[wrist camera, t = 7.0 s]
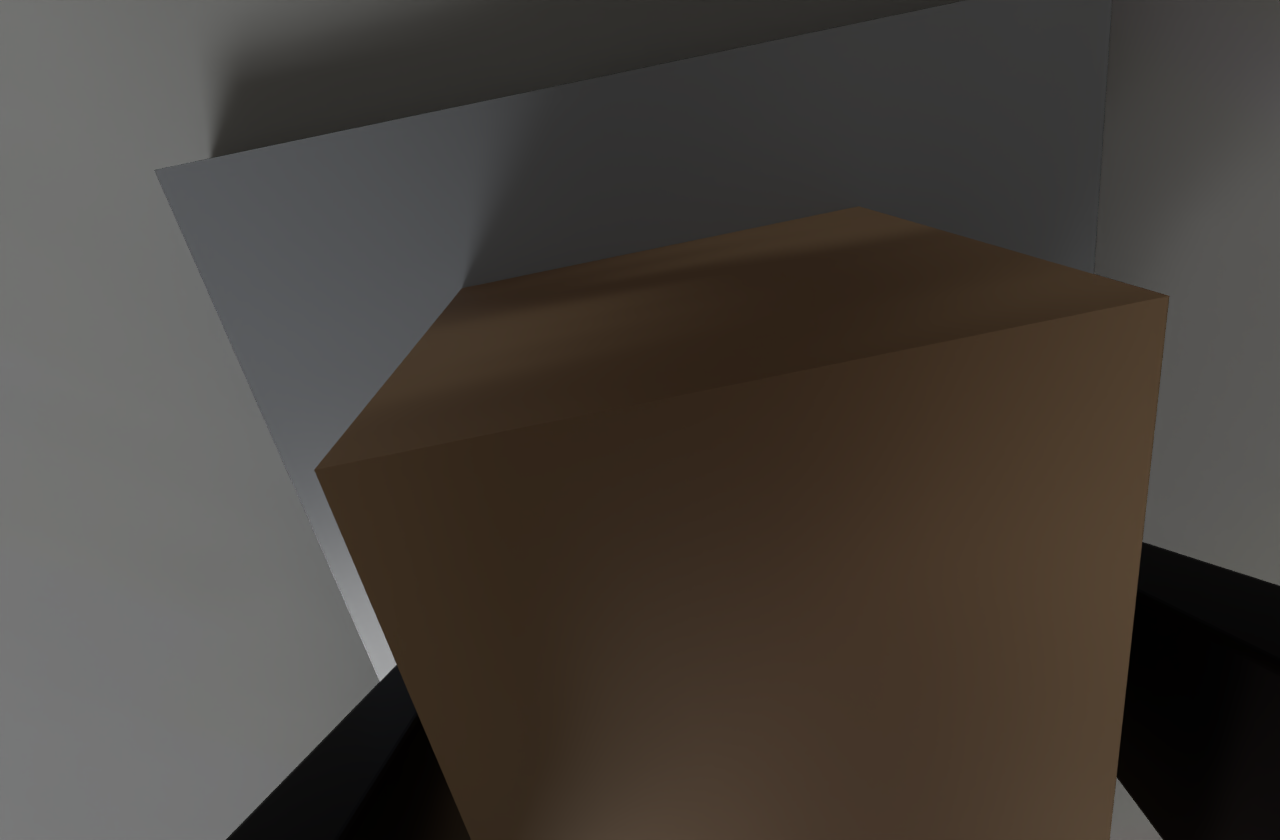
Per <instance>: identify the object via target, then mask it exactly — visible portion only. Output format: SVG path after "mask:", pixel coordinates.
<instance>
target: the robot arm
mask: <svg viewBox="0 0 1280 840" xmlns="http://www.w3.org/2000/svg"><path fill="white" fill-rule="evenodd" d="M1116 777H1117V778H1118V780H1119V781H1120V782H1121V784H1122V785H1123V786H1124V788H1125V789H1126V790H1127V792H1128V793H1129V794H1130V796H1131V797H1132V798H1133V800H1134V801H1135V802H1136V804H1137V805H1138V807H1139V808H1140V809H1141V811H1142V812H1143V813H1144V815H1145V816H1146V817H1147V819H1148V820H1149V821H1150V823H1151V824H1152V825H1153V827H1154V828H1155V830H1156V831H1157V832H1158V834H1159V835H1160V836H1161V838H1162V839H1163V840H1280V586H1279V585H1276V584H1272V583H1269V582H1266V581H1263V580H1260V579H1257V578H1254V577H1251V576H1247V575H1244V574H1241V573H1238V572H1235V571H1232V570H1229V569H1225V568H1222V567H1219V566H1216V565H1213V564H1210V563H1207V562H1203V561H1200V560H1197V559H1194V558H1191V557H1188V556H1185V555H1181V554H1178V553H1175V552H1172V551H1169V550H1166V549H1163V548H1160V547H1156V546H1153V545H1150V544H1147V543H1144V542H1142V549H1141V558H1140V567H1139V576H1138V585H1137V594H1136V603H1135V612H1134V621H1133V631H1132V640H1131V649H1130V658H1129V667H1128V676H1127V685H1126V694H1125V703H1124V712H1123V722H1122V731H1121V740H1120V749H1119V758H1118V767H1117V776H1116ZM226 840H471V838H470V836H469V834H468V831H467V829H466V827H465V824H464V822H463V819H462V817H461V815H460V812H459V810H458V808H457V805H456V803H455V801H454V798H453V796H452V794H451V791H450V789H449V787H448V784H447V782H446V779H445V777H444V775H443V772H442V770H441V768H440V765H439V763H438V761H437V758H436V756H435V754H434V751H433V749H432V746H431V744H430V742H429V739H428V737H427V735H426V732H425V730H424V728H423V725H422V723H421V721H420V718H419V716H418V713H417V711H416V709H415V706H414V704H413V702H412V699H411V697H410V695H409V692H408V690H407V688H406V685H405V683H404V680H403V678H402V676H401V673H400V671H399V669H398V666H397V665H396V666H395V667H394V668H393V669H392V670H391V671H390V672H389V673H388V674H387V675H386V676H385V677H384V678H383V679H382V680H381V681H380V682H379V683H378V684H377V685H376V686H375V687H374V688H373V689H372V690H371V691H370V692H369V693H368V694H367V695H366V696H365V697H364V698H363V700H362V701H361V702H360V703H359V704H358V705H357V706H356V707H355V708H354V709H353V710H352V711H351V712H350V713H349V714H348V715H347V716H346V717H345V718H344V719H343V720H342V721H341V722H340V723H339V724H338V725H337V726H336V727H335V728H334V729H333V730H332V731H331V732H330V733H329V734H328V735H327V736H326V737H325V739H324V740H323V741H322V742H321V743H320V744H319V745H318V746H317V747H316V748H315V749H314V750H313V751H312V752H311V753H310V754H309V755H308V756H307V757H306V758H305V759H304V760H303V761H302V762H301V763H300V764H299V765H298V766H297V767H296V768H295V769H294V770H293V771H292V772H291V773H290V774H289V775H288V776H287V778H286V779H285V780H284V781H283V782H282V783H281V784H280V785H279V786H278V787H277V788H276V789H275V790H274V791H273V792H272V793H271V794H270V795H269V796H268V797H267V798H266V799H265V800H264V801H263V802H262V803H261V804H260V805H259V806H258V807H257V808H256V809H255V810H254V811H253V812H252V813H251V814H250V815H249V817H248V818H247V819H246V820H245V821H244V822H243V823H242V824H241V825H240V826H239V827H238V828H237V829H236V830H235V831H234V832H233V833H232V834H231V835H230V836H229V837H228V838H227V839H226Z"/></svg>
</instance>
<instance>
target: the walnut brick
mask: <svg viewBox="0 0 1280 840" xmlns="http://www.w3.org/2000/svg"><path fill="white" fill-rule="evenodd" d="M1168 303H1169V296H1168V295H1164V294H1161V293H1157V292H1154V291H1151V290H1147V289H1144V288H1140V287H1137V286H1133V285H1130V284H1126V283H1123V282H1119V281H1116V280H1112V279H1109V278H1106V277H1102V276H1099V275H1095V274H1092V273H1088V272H1085V271H1081V270H1078V269H1074V268H1071V267H1067V266H1064V265H1061V264H1057V263H1054V262H1050V261H1047V260H1043V259H1040V258H1036V257H1033V256H1029V255H1026V254H1022V253H1019V252H1016V251H1012V250H1009V249H1005V248H1002V247H998V246H995V245H991V244H988V243H984V242H981V241H977V240H974V239H971V238H967V237H964V236H960V235H957V234H953V233H950V232H946V231H943V230H939V229H936V228H932V227H929V226H926V225H922V224H919V223H915V222H912V221H908V220H905V219H901V218H898V217H894V216H891V215H887V214H884V213H881V212H877V211H874V210H870V209H867V208H863V207H860V206H858V207H853V208H848V209H843V210H838V211H834V212H829V213H824V214H819V215H814V216H809V217H804V218H800V219H795V220H790V221H785V222H780V223H775V224H771V225H766V226H761V227H756V228H751V229H746V230H742V231H737V232H732V233H727V234H722V235H717V236H713V237H708V238H703V239H698V240H693V241H688V242H684V243H679V244H674V245H669V246H664V247H659V248H654V249H650V250H645V251H640V252H635V253H630V254H625V255H621V256H616V257H611V258H606V259H601V260H596V261H592V262H587V263H582V264H577V265H572V266H567V267H563V268H558V269H553V270H548V271H543V272H538V273H533V274H529V275H524V276H519V277H514V278H509V279H504V280H500V281H495V282H490V283H485V284H480V285H475V286H471V287H466V288H462V289H461V290H460V291H459V292H458V293H457V295H456V296H455V297H454V298H453V300H452V301H451V302H450V303H449V305H448V306H447V307H446V308H445V309H444V311H443V312H442V313H441V314H440V316H439V317H438V318H437V319H436V321H435V322H434V323H433V324H432V325H431V327H430V328H429V329H428V330H427V332H426V333H425V334H424V335H423V337H422V338H421V339H420V340H419V341H418V343H417V344H416V345H415V346H414V348H413V349H412V350H411V351H410V353H409V354H408V355H407V356H406V357H405V359H404V360H403V361H402V362H401V364H400V365H399V366H398V367H397V369H396V370H395V371H394V372H393V373H392V375H391V376H390V377H389V378H388V380H387V381H386V382H385V383H384V384H383V386H382V387H381V388H380V389H379V391H378V392H377V393H376V394H375V396H374V397H373V398H372V399H371V400H370V402H369V403H368V404H367V405H366V407H365V408H364V409H363V410H362V412H361V413H360V414H359V415H358V416H357V418H356V419H355V420H354V421H353V423H352V424H351V425H350V426H349V428H348V429H347V430H346V431H345V432H344V434H343V435H342V436H341V437H340V439H339V440H338V441H337V442H336V444H335V445H334V446H333V447H332V448H331V450H330V451H329V452H328V453H327V455H326V456H325V457H324V458H323V460H322V461H321V462H320V463H319V464H318V466H317V467H316V468H315V469H314V471H315V473H316V476H317V478H318V480H319V483H320V485H321V487H322V490H323V492H324V494H325V497H326V499H327V501H328V504H329V506H330V508H331V511H332V513H333V516H334V518H335V520H336V523H337V525H338V527H339V530H340V532H341V534H342V537H343V539H344V541H345V544H346V546H347V549H348V551H349V553H350V556H351V558H352V560H353V563H354V565H355V567H356V570H357V572H358V574H359V577H360V579H361V582H362V584H363V586H364V589H365V591H366V593H367V596H368V598H369V600H370V603H371V605H372V607H373V610H374V612H375V615H376V617H377V619H378V622H379V624H380V626H381V629H382V631H383V633H384V636H385V638H386V640H387V643H388V645H389V647H390V650H391V652H392V655H393V657H394V659H395V662H396V664H397V666H398V669H399V671H400V673H401V676H402V678H403V680H404V683H405V685H406V688H407V690H408V692H409V695H410V697H411V699H412V702H413V704H414V706H415V709H416V711H417V713H418V716H419V718H420V721H421V723H422V725H423V728H424V730H425V732H426V735H427V737H428V739H429V742H430V744H431V746H432V749H433V751H434V754H435V756H436V758H437V761H438V763H439V765H440V768H441V770H442V772H443V775H444V777H445V779H446V782H447V784H448V787H449V789H450V791H451V794H452V796H453V798H454V801H455V803H456V805H457V808H458V810H459V812H460V815H461V817H462V819H463V822H464V824H465V827H466V829H467V831H468V834H469V836H470V838H471V840H1110V831H1111V822H1112V813H1113V803H1114V794H1115V785H1116V776H1117V767H1118V758H1119V749H1120V740H1121V731H1122V722H1123V712H1124V703H1125V694H1126V685H1127V676H1128V667H1129V658H1130V649H1131V640H1132V631H1133V621H1134V612H1135V603H1136V594H1137V585H1138V576H1139V567H1140V558H1141V549H1142V540H1143V531H1144V521H1145V512H1146V503H1147V494H1148V485H1149V476H1150V467H1151V458H1152V449H1153V440H1154V430H1155V421H1156V412H1157V403H1158V394H1159V385H1160V376H1161V367H1162V358H1163V349H1164V339H1165V330H1166V321H1167V312H1168Z"/></svg>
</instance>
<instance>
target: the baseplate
mask: <svg viewBox="0 0 1280 840" xmlns="http://www.w3.org/2000/svg"><path fill="white" fill-rule="evenodd" d="M1111 12H1112V0H964V1H960V2H955V3H950V4H945V5H941V6H936V7H931V8H926V9H921V10H917V11H912V12H907V13H902V14H898V15H893V16H888V17H883V18H878V19H874V20H869V21H864V22H859V23H855V24H850V25H845V26H840V27H835V28H831V29H826V30H821V31H816V32H812V33H807V34H802V35H797V36H792V37H788V38H783V39H778V40H773V41H769V42H764V43H759V44H754V45H749V46H745V47H740V48H735V49H730V50H726V51H721V52H716V53H711V54H706V55H702V56H697V57H692V58H687V59H683V60H678V61H673V62H668V63H663V64H659V65H654V66H649V67H644V68H640V69H635V70H630V71H625V72H620V73H616V74H611V75H606V76H601V77H597V78H592V79H587V80H582V81H577V82H573V83H568V84H563V85H558V86H553V87H549V88H544V89H539V90H534V91H530V92H525V93H520V94H515V95H510V96H506V97H501V98H496V99H491V100H487V101H482V102H477V103H472V104H467V105H463V106H458V107H453V108H448V109H444V110H439V111H434V112H429V113H424V114H420V115H415V116H410V117H405V118H401V119H396V120H391V121H386V122H381V123H377V124H372V125H367V126H362V127H358V128H353V129H348V130H343V131H338V132H334V133H329V134H324V135H319V136H315V137H310V138H305V139H300V140H295V141H291V142H286V143H281V144H276V145H272V146H267V147H262V148H257V149H252V150H248V151H243V152H238V153H233V154H229V155H224V156H219V157H214V158H209V159H205V160H200V161H195V162H190V163H186V164H181V165H176V166H171V167H166V168H162V169H157V170H154V171H155V173H156V175H157V177H158V180H159V182H160V184H161V186H162V189H163V191H164V193H165V195H166V198H167V200H168V202H169V205H170V207H171V209H172V211H173V214H174V216H175V218H176V220H177V223H178V225H179V227H180V229H181V232H182V234H183V236H184V239H185V241H186V243H187V245H188V248H189V250H190V252H191V254H192V257H193V259H194V261H195V264H196V266H197V268H198V270H199V273H200V275H201V277H202V279H203V282H204V284H205V286H206V288H207V291H208V293H209V295H210V298H211V300H212V302H213V304H214V307H215V309H216V311H217V313H218V316H219V318H220V320H221V322H222V325H223V327H224V329H225V332H226V334H227V336H228V338H229V341H230V343H231V345H232V347H233V350H234V352H235V354H236V356H237V359H238V361H239V363H240V366H241V368H242V370H243V372H244V375H245V377H246V379H247V381H248V384H249V386H250V388H251V391H252V393H253V395H254V397H255V400H256V402H257V404H258V406H259V409H260V411H261V413H262V415H263V418H264V420H265V422H266V425H267V427H268V429H269V431H270V434H271V436H272V438H273V440H274V443H275V445H276V447H277V449H278V452H279V454H280V456H281V459H282V461H283V463H284V465H285V468H286V470H287V472H288V474H289V477H290V479H291V481H292V483H293V486H294V488H295V490H296V493H297V495H298V497H299V499H300V502H301V504H302V506H303V508H304V511H305V513H306V515H307V518H308V520H309V522H310V524H311V527H312V529H313V531H314V533H315V536H316V538H317V540H318V542H319V545H320V547H321V549H322V552H323V554H324V556H325V558H326V561H327V563H328V565H329V567H330V570H331V572H332V574H333V576H334V579H335V581H336V583H337V586H338V588H339V590H340V592H341V595H342V597H343V599H344V601H345V604H346V606H347V608H348V610H349V613H350V615H351V617H352V620H353V622H354V624H355V626H356V629H357V631H358V633H359V635H360V638H361V640H362V642H363V645H364V647H365V649H366V651H367V654H368V656H369V658H370V660H371V663H372V665H373V667H374V669H375V672H376V674H377V676H378V679H379V681H381V680H382V679H383V678H384V677H385V676H386V675H387V674H388V673H389V672H390V671H391V670H392V669H393V668H394V667H395V666H396V665H397V664H396V662H395V659H394V657H393V655H392V652H391V650H390V647H389V645H388V643H387V640H386V638H385V636H384V633H383V631H382V629H381V626H380V624H379V622H378V619H377V617H376V615H375V612H374V610H373V607H372V605H371V603H370V600H369V598H368V596H367V593H366V591H365V589H364V586H363V584H362V582H361V579H360V577H359V574H358V572H357V570H356V567H355V565H354V563H353V560H352V558H351V556H350V553H349V551H348V549H347V546H346V544H345V541H344V539H343V537H342V534H341V532H340V530H339V527H338V525H337V523H336V520H335V518H334V516H333V513H332V511H331V508H330V506H329V504H328V501H327V499H326V497H325V494H324V492H323V490H322V487H321V485H320V483H319V480H318V478H317V476H316V473H315V471H314V469H315V468H316V467H317V466H318V464H319V463H320V462H321V461H322V460H323V458H324V457H325V456H326V455H327V453H328V452H329V451H330V450H331V448H332V447H333V446H334V445H335V444H336V442H337V441H338V440H339V439H340V437H341V436H342V435H343V434H344V432H345V431H346V430H347V429H348V428H349V426H350V425H351V424H352V423H353V421H354V420H355V419H356V418H357V416H358V415H359V414H360V413H361V412H362V410H363V409H364V408H365V407H366V405H367V404H368V403H369V402H370V400H371V399H372V398H373V397H374V396H375V394H376V393H377V392H378V391H379V389H380V388H381V387H382V386H383V384H384V383H385V382H386V381H387V380H388V378H389V377H390V376H391V375H392V373H393V372H394V371H395V370H396V369H397V367H398V366H399V365H400V364H401V362H402V361H403V360H404V359H405V357H406V356H407V355H408V354H409V353H410V351H411V350H412V349H413V348H414V346H415V345H416V344H417V343H418V341H419V340H420V339H421V338H422V337H423V335H424V334H425V333H426V332H427V330H428V329H429V328H430V327H431V325H432V324H433V323H434V322H435V321H436V319H437V318H438V317H439V316H440V314H441V313H442V312H443V311H444V309H445V308H446V307H447V306H448V305H449V303H450V302H451V301H452V300H453V298H454V297H455V296H456V295H457V293H458V292H459V291H460V290H461V289H462V288H466V287H471V286H475V285H480V284H485V283H490V282H495V281H500V280H504V279H509V278H514V277H519V276H524V275H529V274H533V273H538V272H543V271H548V270H553V269H558V268H563V267H567V266H572V265H577V264H582V263H587V262H592V261H596V260H601V259H606V258H611V257H616V256H621V255H625V254H630V253H635V252H640V251H645V250H650V249H654V248H659V247H664V246H669V245H674V244H679V243H684V242H688V241H693V240H698V239H703V238H708V237H713V236H717V235H722V234H727V233H732V232H737V231H742V230H746V229H751V228H756V227H761V226H766V225H771V224H775V223H780V222H785V221H790V220H795V219H800V218H804V217H809V216H814V215H819V214H824V213H829V212H834V211H838V210H843V209H848V208H853V207H858V206H860V207H863V208H867V209H870V210H874V211H877V212H881V213H884V214H887V215H891V216H894V217H898V218H901V219H905V220H908V221H912V222H915V223H919V224H922V225H926V226H929V227H932V228H936V229H939V230H943V231H946V232H950V233H953V234H957V235H960V236H964V237H967V238H971V239H974V240H977V241H981V242H984V243H988V244H991V245H995V246H998V247H1002V248H1005V249H1009V250H1012V251H1016V252H1019V253H1022V254H1026V255H1029V256H1033V257H1036V258H1040V259H1043V260H1047V261H1050V262H1054V263H1057V264H1061V265H1064V266H1067V267H1071V268H1074V269H1078V270H1081V271H1085V272H1088V273H1092V274H1094V266H1095V251H1096V236H1097V221H1098V206H1099V191H1100V176H1101V161H1102V146H1103V131H1104V116H1105V102H1106V87H1107V72H1108V57H1109V42H1110V27H1111Z"/></svg>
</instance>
